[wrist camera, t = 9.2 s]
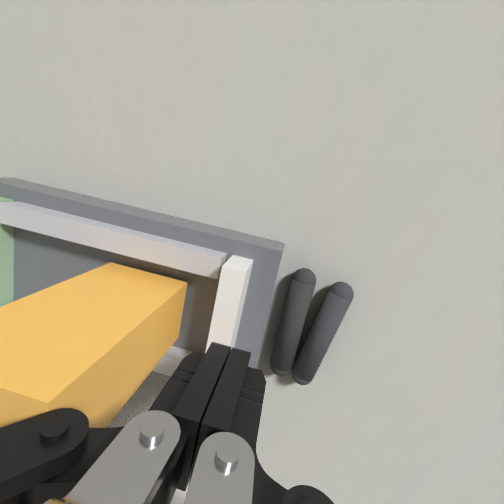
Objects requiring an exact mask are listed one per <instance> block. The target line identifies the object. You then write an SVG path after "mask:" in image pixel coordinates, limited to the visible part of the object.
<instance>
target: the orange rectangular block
mask: <svg viewBox="0 0 504 504" xmlns="http://www.w3.org/2000/svg"><path fill="white" fill-rule="evenodd" d="M187 283H188V282H184V281H180V280H177V279H173V278H169V277H165V276H161V275H158V274H154V273H150V272H146V271H143V270H139V269H135V268H131V267H127V266H124V265H120V264H116V263H112V262H110V263H108V264H105V265H103V266H100V267H98V268H95V269H93V270H90V271H88V272H86V273H83V274H81V275H78V276H76V277H73V278H71V279H68V280H66V281H63V282H61V283H58V284H56V285H53V286H51V287H48V288H46V289H43V290H41V291H38V292H36V293H33V294H31V295H28V296H26V297H24V298H21V299H19V300H16V301H14V302H11V303H9V304H6V305H4V306H1V307H0V428H1V427H4V426H7V425H10V424H13V423H15V422H18V421H21V420H24V419H27V418H30V417H33V416H36V415H39V414H42V413H45V412H48V411H51V410H55V409H60V408H72V409H77V410H79V411H81V412H83V413H84V414H85V415H86V416H87V418H88V420H89V428H107V426H108V425H109V424H110V423H111V421H112V420H113V419H114V418H115V416H116V415H117V414H118V413H119V411H120V410H121V409H122V407H123V406H124V405H125V404H126V402H127V401H128V400H129V399H130V397H131V396H132V395H133V394H134V392H135V391H136V390H137V389H138V387H139V386H140V385H141V384H142V382H143V381H144V380H145V379H146V377H147V376H148V375H149V374H150V372H151V371H152V370H153V369H154V367H155V366H156V365H157V364H158V362H159V361H160V360H161V359H162V357H163V356H164V355H165V353H166V352H167V351H168V350H169V348H170V347H171V346H172V345H173V343H174V342H175V341H176V340H177V338H178V337H179V331H180V325H181V319H182V313H183V307H184V301H185V295H186V289H187Z"/></svg>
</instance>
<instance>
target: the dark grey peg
mask: <svg viewBox="0 0 504 504" xmlns="http://www.w3.org/2000/svg"><path fill="white" fill-rule="evenodd" d="M315 284H316V277H315V275H314V273H313V272H312V271H311V270H309V269H305V268H302V269H299V270H297V271H296V272H295V273H294V275H293V277H292V281H291V285H290V288H289V292H288V296H287V300H286V304H285V307H284V311H283V315H282V319H281V323H280V327H279V330H278V334H277V338H276V342H275V346H274V350H273V353H272V357H271V361H270V366H271V369H272V371H273V372H274V373H275V374H277V375H279V376H284V375H286V374H288V373H289V372H290V370H291V368H292V365H293V361H294V358H295V354H296V351H297V347H298V344H299V340H300V337H301V333H302V330H303V326H304V323H305V319H306V316H307V312H308V309H309V305H310V302H311V298H312V295H313V291H314V288H315Z"/></svg>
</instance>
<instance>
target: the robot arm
mask: <svg viewBox="0 0 504 504" xmlns="http://www.w3.org/2000/svg"><path fill="white" fill-rule="evenodd" d="M250 357H251V352H248V351H244V350H241V349H237V348H234V347H232V349H231V347H230V346H226V345H223V344H219V343H216V342H212V343H211V344H210V346H209V348H208V350H207V352H206V353H205V354H202V353H199V352H195V351H194V352H192V353H191V354H189V355H187V356H186V357H184V358H183V359H182V361H181V362H180V364H179V365H178V367H177V369H176V370H175V371H174V373H173V374H172V376H171V378H170V379H169V380H168V382H167V383H166V385H165V386H164V388H163V389H162V391H161V392H160V394H159V395H158V397H157V398H156V400H155V401H154V403H153V404H152V406H151V407H150V409H149V410H148V411H146V412H143V413H140V414H138V415H137V416H135V417H133V418H132V419H131V420H130V421H129V422H128V423H127V424H126V425H125V426H123V427H118V428H89V420H88V418H87V416H86V415H85V414H84V413H83V412H81V411H79V410H77V409H72V408H60V409H55V410H51V411H48V412H45V413H42V414H39V415H36V416H33V417H30V418H27V419H24V420H21V421H18V422H15V423H13V424H10V425H7V426H4V427H1V428H0V504H170V503H171V500H172V498H173V495H174V493H175V490H176V488H177V489H180V490H183V491H185V490H186V487H187V485H188V482H189V486H188V491H187V494H186V498H185V501H184V504H334V503H333V502H332V501H331V500H330V499H329V498H328V497H327V496H326V495H325V494H324V493H323V492H321V491H319V490H318V489H316V488H314V487H311V486H307V485H298V486H295V487H292V488H291V489H289V490H287V489H285V488H284V487H282V486H281V485H280V484H278V483H277V482H275V481H274V480H273V479H272V478H270V477H269V476H268V475H267V474H266V473H265V471H264V470H263V468H262V467H261V465H260V463H259V461H258V458H257V455H256V441H257V435H258V429H259V423H260V416H261V410H262V404H263V398H264V392H265V386H266V380H265V378H264V375H263V372H262V371H261V370H258V369H254V368H251V367H248V365H249V361H250ZM190 476H191V477H190ZM189 479H190V481H189Z"/></svg>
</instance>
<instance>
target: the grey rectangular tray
mask: <svg viewBox="0 0 504 504" xmlns="http://www.w3.org/2000/svg"><path fill="white" fill-rule="evenodd" d="M283 248H284V243H281V242H277V241H273V240H269V239H264V238H260V237H256V236H252V235H248V234H244V233H240V232H235V231H231V230H227V229H223V228H219V227H215V226H210V225H206V224H202V223H198V222H194V221H190V220H185V219H181V218H177V217H173V216H169V215H165V214H160V213H156V212H152V211H148V210H144V209H140V208H136V207H131V206H127V205H123V204H119V203H115V202H111V201H106V200H102V199H98V198H94V197H90V196H86V195H81V194H77V193H73V192H69V191H65V190H61V189H56V188H52V187H48V186H44V185H40V184H36V183H32V182H27V181H23V180H19V179H15V178H0V307H1V306H4V305H6V304H9V303H11V302H14V301H16V300H19V299H21V298H24V297H26V296H28V295H31V294H33V293H36V292H38V291H41V290H43V289H46V288H48V287H51V286H53V285H56V284H58V283H61V282H63V281H66V280H68V279H71V278H73V277H76V276H78V275H81V274H83V273H86V272H88V271H90V270H93V269H95V268H98V267H100V266H103V265H105V264H108V263H110V262H112V263H116V264H120V265H124V266H127V267H131V268H135V269H139V270H143V271H146V272H150V273H154V274H158V275H161V276H165V277H169V278H173V279H177V280H180V281H184V282H188V283H187V289H186V295H185V301H184V307H183V313H182V319H181V325H180V331H179V337H178V338H177V340H176V341H175V342H174V343H173V345H172V346H171V347H170V348H169V350H168V351H167V352H166V353H165V355H164V356H163V357H162V359H161V360H160V361H159V362H158V364H157V365H156V366H155V367H154V369H153V370H152V371H153V372H157V373H160V374H163V375H167V376H170V377H171V376H172V374H173V373H174V371H175V370H176V369H177V367H178V365H179V364H180V362H181V361H182V359H183V358H184V357H186V356H187V355H189V354H191V353H192V352H194V351H195V352H199V353H202V354H205V353H206V352H207V350H208V348H209V346H210V344H211V343H212V342H216V343H219V344H223V345H226V346H230V347H231V349H232V347H234V348H237V349H241V350H244V351H248V352H251V357H250V361H249V365H248V367H251V368H254V365H255V361H256V357H257V353H258V349H259V345H260V341H261V337H262V333H263V329H264V325H265V321H266V317H267V313H268V308H269V304H270V300H271V296H272V292H273V288H274V284H275V280H276V276H277V272H278V268H279V264H280V260H281V256H282V252H283Z"/></svg>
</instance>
